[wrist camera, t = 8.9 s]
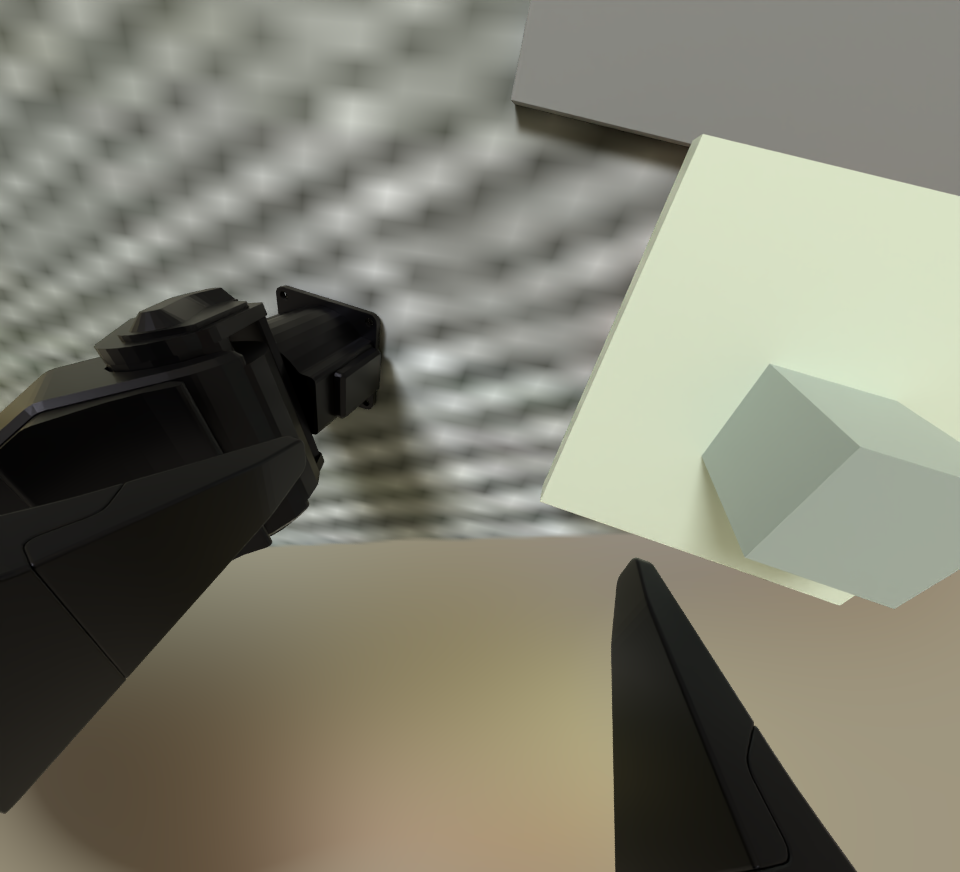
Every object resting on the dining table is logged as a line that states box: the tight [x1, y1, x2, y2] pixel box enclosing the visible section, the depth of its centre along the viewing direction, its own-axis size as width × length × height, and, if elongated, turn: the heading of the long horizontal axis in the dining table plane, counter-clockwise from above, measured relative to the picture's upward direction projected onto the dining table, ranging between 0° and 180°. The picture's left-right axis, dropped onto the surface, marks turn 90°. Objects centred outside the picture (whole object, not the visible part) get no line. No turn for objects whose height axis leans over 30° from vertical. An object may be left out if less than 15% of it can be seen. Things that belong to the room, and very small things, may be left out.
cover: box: [540, 134, 960, 609], centre depth 11 cm, size 14×14×6 cm
